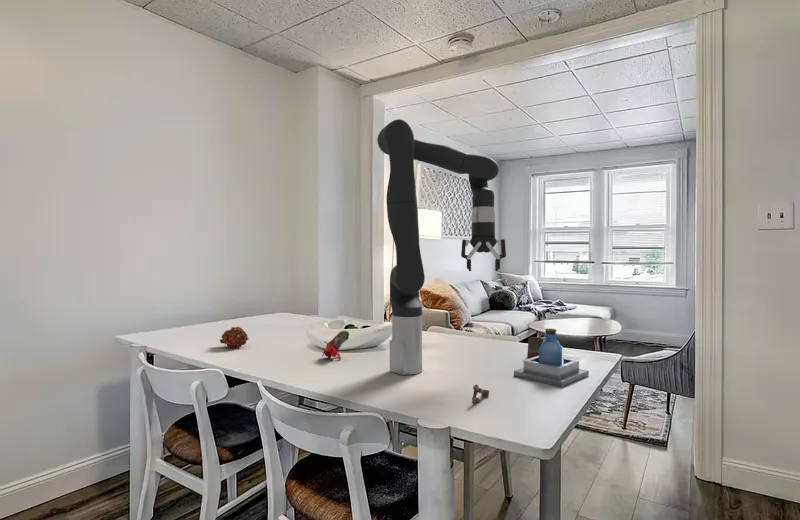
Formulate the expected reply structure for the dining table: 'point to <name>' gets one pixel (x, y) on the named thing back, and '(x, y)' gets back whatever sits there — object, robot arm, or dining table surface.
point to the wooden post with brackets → (482, 391)
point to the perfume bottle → (550, 349)
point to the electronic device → (534, 346)
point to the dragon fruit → (234, 337)
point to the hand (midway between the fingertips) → (483, 271)
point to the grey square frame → (551, 372)
